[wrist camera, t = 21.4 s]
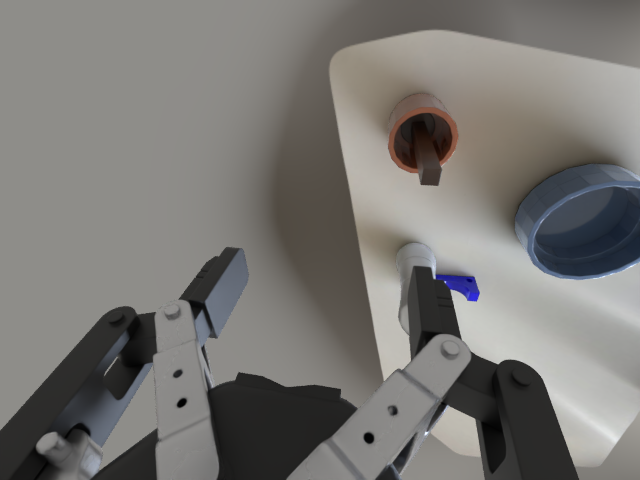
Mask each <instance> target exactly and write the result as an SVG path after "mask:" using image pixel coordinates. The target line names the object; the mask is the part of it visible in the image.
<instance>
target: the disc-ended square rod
mask: <svg viewBox="0 0 640 480" xmlns="http://www.w3.org/2000/svg"><path fill="white" fill-rule="evenodd" d="M400 129H401V135H402V137H403V138H404V140H405V141H407V142H408V143H410V144H413V148H414V153H415V158H416V163H417V168H418V173H419V179H420V184H421V185H433V186H438V185H439V181H440V177H441V172H442V168H441V165H440V163H439V160H438V157H437V154H436V151H435V149H434V146H433V143H432V140H431V136H432V135H433V133H434V131H435V120H434V118H433V116H432V114H431V113H420V114H417V115H414V116H412V117H409V118H408V119H407V120H406V121H405V122H404V123H402V124H401V127H400Z"/></svg>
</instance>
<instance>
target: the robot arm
mask: <svg viewBox="0 0 640 480" xmlns="http://www.w3.org/2000/svg"><path fill="white" fill-rule="evenodd" d="M247 281H248V269H247V264H246V259H245V254H244V251H243V249H242V248H232V247H226V248H225V249H224V250H223V252H222V253H221V255H220V256H219V257H218V256H215V257H214V258H212V259H211V260H209V261H208V262H206V264H205V265H204V266H203V268H202V269H201V271H200V272H199V273H198V274H197V276H196V278H194V280H193V281H192V282H191V283H190V285H189V286H188V287H187V289H186V290H185V291H184V293H183V294H182V295H181V297H180V298H179V299H178V300H174V301H170V302H168V303H166V304H164V305H163V306H161V307H160V308H159V309H158V311H157V312H153V313H146V314H139V315H137V313H136V312H135V310H134V309H133V308H131V307H128V306H123V307H118V308H115V309H113V310H111V311H109V312H107V313H106V314H105V315H103V316H102V317H101V318H100V320H99V321H98V322H97V323H96V324H95V325H94V326H93V327H92V329H91V330H90V331H89V332H88V333H87V334H86V335H85V337H84V338H83V339H82V340H81V341H80V342H79V343H78V344H77V345H76V347H75V348H74V349H73V350H72V351H71V352H70V353H69V354H68V356H67V357H66V358H65V359H64V360H63V361H62V362H61V363H60V364H59V366H58V367H57V368H56V369H55V370H54V371H53V373H51V375H50V376H49V377H48V378H47V379H46V380H45V381H44V382H43V383H42V385H41V386H40V387H39V388H38V389H37V390H36V391H35V392H34V394H33V395H32V396H31V397H30V398H29V399H28V400H27V401H26V403H25V404H24V405H23V406H22V407H21V408H20V409H19V410H18V412H17V413H16V414H15V415H14V416H13V417H12V418H11V420H9V422H8V423H7V424H6V425H5V426H4V427H3V428H2V429H1V431H0V480H402V479H401V478H400V476H401V474H402V473H403V471H404V470H405V469H406V467H407V466H408V465H409V463H410V462H411V461H412V459H413V458H414V456H415V455H416V453H417V451H418V450H419V448H420V446H421V445H422V443H423V441H424V440H425V438H426V437H427V435H428V434H429V433H430V431H431V430H432V429H433V427H434V426H435V425H436V423H437V422H438V420H439V419H440V418H441V416H442V415H443V414H444V412H445V411H446V410H447V408H448V407H449V406H450V407H452V408H454V409H456V410H458V411H460V412H463V413H465V414H467V415H469V416H471V417H473V418H475V420H476V426H477V432H478V439H479V445H480V451H481V458H482V464H483V470H484V477H485V480H579V478H578V475H577V472H576V470H575V467H574V464H573V461H572V458H571V456H570V453H569V450H568V447H567V445H566V442H565V439H564V436H563V434H562V431H561V428H560V425H559V422H558V420H557V417H556V414H555V411H554V409H553V406H552V403H551V400H550V398H549V395H548V392H547V389H546V387H545V384H544V381H543V379H542V378H541V376H540V375H539V374H538V373H537V372H536V371H535V370H534V369H533V368H531V367H530V366H528V365H527V364H525V363H523V362H520V361H517V360H504V361H502V362H501V363H500V364H499V365H498V364H496V363H493V362H491V361H488V360H486V359H483V358H481V357H479V356H477V355H475V354H474V353H473V352H471V351H470V349H469V347H468V346H467V345H466V343H465V342H463V341H462V339H461V335H460V331H459V326H458V322H457V318H456V313H455V309H454V304H453V300H452V296H451V291H450V288H449V287H448V286H447V284H446V283H445V282H444V281H443V280H439V279H433V273H432V268H431V267H426V266H415V265H414V266H413V269H412V274H411V279H410V284H409V289H408V298H407V305H408V320H409V336H410V351H411V362H410V363H409V364H408V365H407V366H406V367H405V368H404V369H403V370H401V369H397V370H395V371H394V372H393V373H392V374H391V375H390V376H389V377H388V378H387V379H386V380H385V381H384V383H383V384H382V385H381V386H380V387H379V388H378V389H377V390H376V391H375V392H374V393H373V394H372V395H371V396H370V397H369V398H368V399H367V400H366V401H365V402H364V403H363V405H362V406H361V407H360V408H359V409H358V408H357V407H355V406H354V405H353V404H351V403H350V402H348V401H347V400H345V399H343V398H341V389H337V388H331V387H325V386H318V385H307V386H296V387H284V386H282V385H280V384H278V383H276V382H274V381H272V380H270V379H267V378H265V377H263V376H258V375H252V374H245V373H240V372H239V373H238V375H237V377H236V380H235V381H229V382H225V383H222V384H219V385H217V386H215V382H214V379H213V375H212V370H211V367H210V362H209V358H208V353H207V349H206V346H205V342H206V340H207V338H208V337H210V338H218V336H219V334H220V333H221V331H222V329H223V327H224V325H225V324H226V322H227V320H228V318H229V316H230V314H231V312H232V311H233V309H234V307H235V305H236V303H237V301H238V299H239V298H240V296H241V294H242V292H243V290H244V288H245V286H246V284H247ZM116 357H118V359H117V360H116V361H115V363H114V364H113V365H112V367H111V368H110V369H109V371H108V372H107V373H106V375H105V376H104V374H105V371H106V370H107V369H108V367H109V366H110V365H111V363H112V362H113V361H114V359H115V358H116ZM152 365H153V368H154V383H155V399H156V414H157V429H155V430H154V431H152V432H151V433H150V434H148V435H147V436H146V437H144V438H143V439H142V440H140V441H139V442H138V443H136V444H135V445H134V446H132V447H131V448H130V449H128V450H127V451H126V452H124V453H123V454H121V455H120V456H119V457H117V458H116V459H115V460H113V461H112V462H111V463H109V464H108V465H107V466H105V467H104V468H103V469H101V470H100V471H99V466H100V464H101V461H102V456H103V455H102V454H103V452H102V449H101V448H102V446H103V445H104V443H105V441H106V440H107V438H108V437H109V435H110V433H111V432H112V430H113V429H114V427H115V425H116V424H117V422H118V420H119V419H120V417H121V416H122V414H123V412H124V411H125V409H126V408H127V406H128V404H129V403H130V401H131V399H132V398H133V396H134V395H135V393H136V391H137V390H138V388H139V386H140V385H141V383H142V382H143V380H144V378H145V376H146V375H147V374H148V372H149V370H150V369H151V367H152ZM103 377H104V378H103Z"/></svg>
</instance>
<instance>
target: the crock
mask: <svg viewBox="0 0 640 480" xmlns="http://www.w3.org/2000/svg"><path fill="white" fill-rule="evenodd" d="M420 113H431V114H432V116H433V118H434V120H435V131H434V133H433V135H432V136H431V140H432V143H433V146H434V149H435V151H436V154H437V157H438V160H439V163H440V165H441V166H442V165H443V164H444V163H446V162H447V161H448V160H449V158H450V157H451V155H452V154H453V152H454V151H455V149H456V145H457V140H458V132H457V127H456V123H455V122H454V120H453V119H452V117H451V116H450V114H449V112H448V111H447V109H446V108H445V107H444V105H443V104H442V103H441V101H440V100H439V99H437V98H436V97H434V96H432V95H429V94H414V95H411V96H409V97H406V98H405V99H403V100H402V101H401V102H399V103H398V104H397V106H396V107H395V108H394V110H393V111H392V113H391V116H390V119H389V126H388V149H389V152H390V155H391V159H392V160H393V161H394V162H395V163H396V164H397V166H398V167H399V168H401V169H403V170H405V171H408V172H410V173H418V168H417V163H416V158H415V153H414V148H413V144H410V143H408V142H407V141H405V140H404V138H403V137H402V135H401V129H400V127H401V124H402V123H404V122H405V121H406V120H407V119H408V118H409V117H412V116H414V115H417V114H420Z"/></svg>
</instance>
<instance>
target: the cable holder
mask: <svg viewBox="0 0 640 480" xmlns="http://www.w3.org/2000/svg"><path fill="white" fill-rule="evenodd" d="M435 276H436V279H439V280H443V281H444V282H445V283H446V284H447V286H448V287H449V288H450V289H451V290H456V291H458V292H460V293H462V294H463V295H464V296H465V297H466V298H467V301H477V300H478V296H479V290H478V287H477V284H476V281H475V278H474V277H466V276H451V275H437V274H435Z"/></svg>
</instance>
